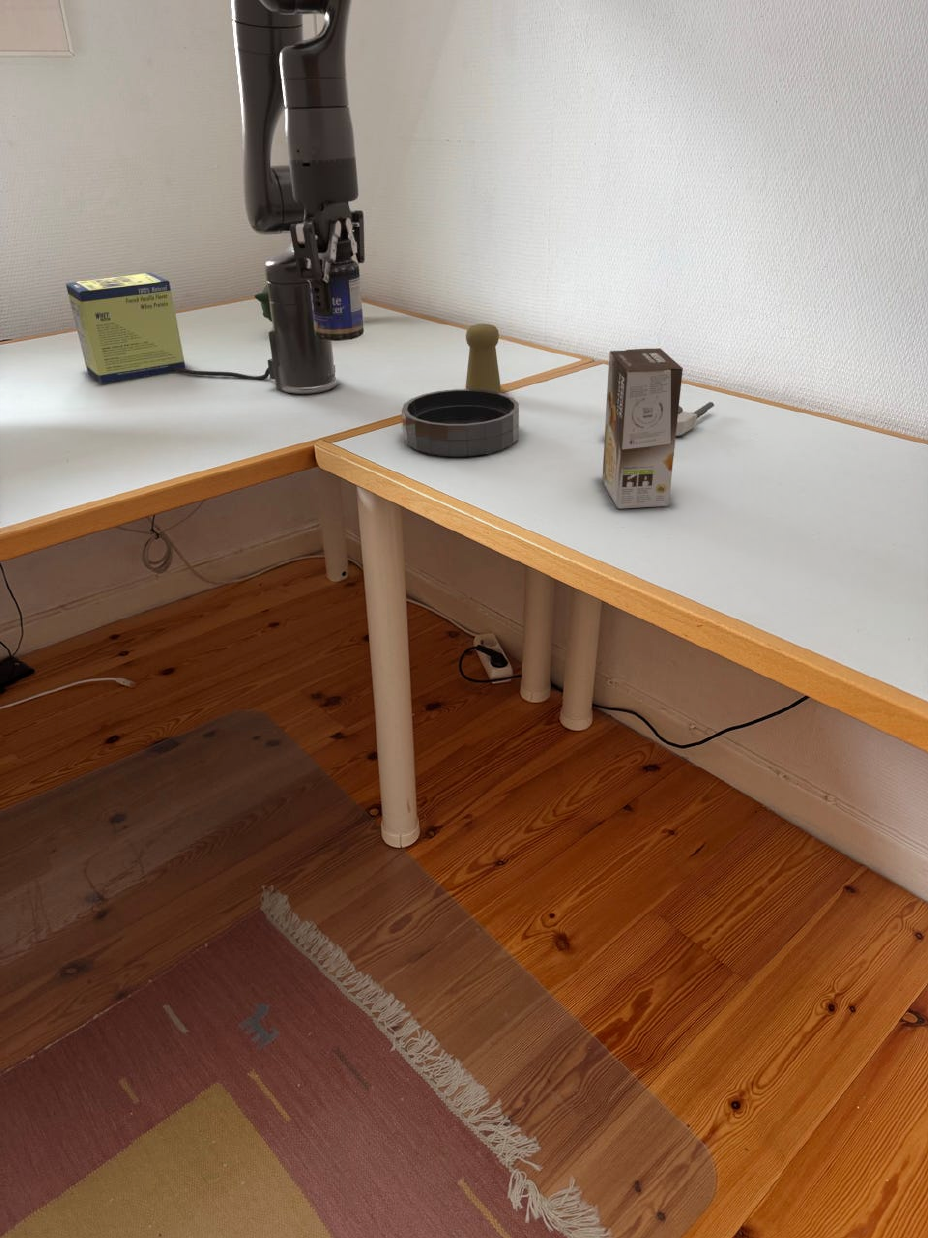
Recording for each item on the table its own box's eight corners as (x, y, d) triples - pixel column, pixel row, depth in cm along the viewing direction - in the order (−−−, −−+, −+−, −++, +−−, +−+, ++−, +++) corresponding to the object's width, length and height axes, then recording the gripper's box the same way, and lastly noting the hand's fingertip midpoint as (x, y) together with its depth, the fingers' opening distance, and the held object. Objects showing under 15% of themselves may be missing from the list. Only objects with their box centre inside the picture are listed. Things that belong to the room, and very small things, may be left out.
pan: (385, 451, 117) (382, 418, 115) (431, 415, 130) (429, 385, 128) (496, 464, 112) (496, 430, 110) (533, 425, 125) (533, 394, 122)
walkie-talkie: (657, 455, 113) (717, 414, 127) (660, 423, 111) (721, 385, 124) (599, 443, 118) (663, 404, 131) (600, 411, 116) (666, 376, 129)
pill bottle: (306, 339, 105) (295, 243, 99) (329, 328, 110) (319, 235, 104) (351, 343, 103) (342, 244, 98) (372, 331, 108) (365, 236, 102)
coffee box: (670, 506, 99) (685, 367, 91) (616, 510, 99) (626, 371, 90) (649, 477, 107) (661, 346, 99) (599, 479, 107) (607, 349, 98)
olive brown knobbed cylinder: (498, 401, 135) (498, 329, 129) (461, 399, 136) (459, 328, 130) (504, 389, 140) (504, 320, 134) (468, 388, 141) (466, 319, 135)
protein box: (187, 369, 156) (170, 279, 148) (100, 385, 149) (77, 291, 141) (169, 357, 163) (152, 271, 155) (85, 372, 156) (62, 282, 148)
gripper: (323, 150, 103) (337, 296, 112) (258, 159, 92) (280, 320, 100) (379, 150, 101) (389, 298, 110) (320, 158, 89) (337, 324, 98)
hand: (337, 308), depth 105 cm, fingers closed on pill bottle, 6 cm apart
